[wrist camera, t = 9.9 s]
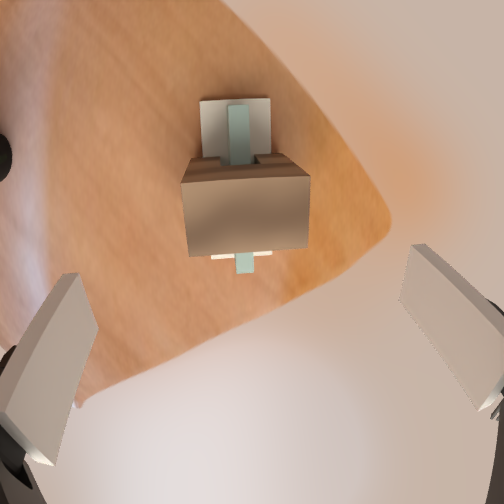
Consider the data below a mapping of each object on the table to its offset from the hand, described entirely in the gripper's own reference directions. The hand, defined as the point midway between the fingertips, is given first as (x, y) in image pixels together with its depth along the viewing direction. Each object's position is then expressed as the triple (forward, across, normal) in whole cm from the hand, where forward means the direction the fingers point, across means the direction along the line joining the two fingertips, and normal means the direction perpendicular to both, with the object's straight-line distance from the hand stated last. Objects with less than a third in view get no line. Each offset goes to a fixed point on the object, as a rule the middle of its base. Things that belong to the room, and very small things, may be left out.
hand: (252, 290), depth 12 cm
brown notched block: (+18, +1, -1) cm, 18 cm away
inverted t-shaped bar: (+19, +1, -1) cm, 19 cm away
